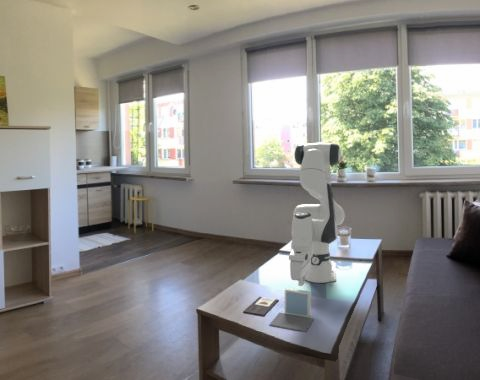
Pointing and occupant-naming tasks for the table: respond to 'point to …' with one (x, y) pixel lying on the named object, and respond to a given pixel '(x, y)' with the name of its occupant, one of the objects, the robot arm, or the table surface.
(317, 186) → the robot arm
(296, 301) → the tile
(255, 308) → the chocolate bar
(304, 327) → the mat
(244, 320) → the table surface
